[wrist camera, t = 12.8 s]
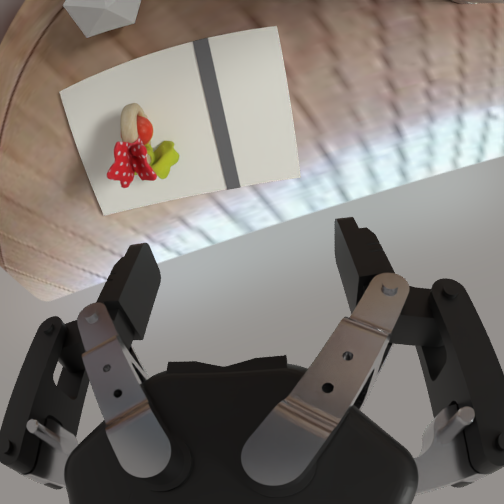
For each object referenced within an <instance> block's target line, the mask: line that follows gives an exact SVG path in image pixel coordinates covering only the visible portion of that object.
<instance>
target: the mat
mask: <svg viewBox="0 0 504 504" xmlns="http://www.w3.org/2000/svg"><path fill="white" fill-rule="evenodd" d="M60 95H61V99H62V102H63V105H64V109H65V112H66V115H67V118H68V122H69V125H70V128H71V131H72V134H73V137H74V140H75V143H76V145H77V148H78V151H79V154H80V157H81V159H82V162H83V165H84V167H85V170H86V173H87V175H88V178H89V180H90V183H91V185H92V188H93V190H94V193H95V195H96V198H97V200H98V203H99V205H100V207H101V210H102V212H103V214H104V216H105V215H109V214H113V213H117V212H121V211H125V210H130V209H134V208H138V207H143V206H147V205H152V204H156V203H161V202H165V201H170V200H175V199H180V198H184V197H189V196H194V195H199V194H205V193H210V192H215V191H221V190H226V189H227V190H228V189H234V188H239V187H243V186H249V185H255V184H261V183H267V182H273V181H280V180H286V179H293V178H300V177H301V176H300V168H299V160H298V152H297V145H296V137H295V130H294V123H293V116H292V110H291V103H290V97H289V91H288V85H287V79H286V73H285V67H284V61H283V56H282V50H281V45H280V40H279V35H278V30H277V26H273V27H265V28H258V29H251V30H245V31H239V32H234V33H229V34H224V35H219V36H214V37H210V38H205V39H200V40H196V41H193V42H189V43H185V44H181V45H178V46H174V47H171V48H167V49H164V50H161V51H158V52H154V53H151V54H148V55H145V56H142V57H139V58H137V59H134V60H131V61H128V62H126V63H123V64H120V65H118V66H115V67H113V68H110V69H108V70H105V71H103V72H100V73H98V74H96V75H93V76H91V77H89V78H87V79H84V80H82V81H80V82H78V83H76V84H74V85H72V86H70V87H68V88H66V89H64V90H62V91H60ZM131 103H137V104H138V105H140V106H141V108H142V109H143V111H144V113H145V115H147V119H148V120H149V121H150V122H151V124H152V126H153V136H152V139H151V147H152V148H153V152H154V151H155V150H156V149H157V148H158V146H159V145H160V144H161V143H162V142H163V141H172V142H173V143H174V149H175V151H176V152H177V153H178V154H179V160H178V162H177V163H176V164H175V165H173V166H171V168H170V172H169V175H168V176H167V178H165V179H160V178H159V177H158V176H157V178H156V180H154V181H149V180H144V181H143V180H141V178H140V177H139V176H138V175H134V179H133V181H132V183H131V184H130V185H129V187H127V188H122V187H121V184H120V181H117V180H110V179H108V178H107V172H108V170H109V168H110V167H111V166H112V164H113V163H114V161H115V158H114V146H115V144H116V142H118V141H120V142H122V139H121V128H120V118H121V112H122V110H123V108H124V107H125V106H126V105H128V104H131Z"/></svg>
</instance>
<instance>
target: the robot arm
mask: <svg viewBox="0 0 504 504" xmlns="http://www.w3.org/2000/svg"><path fill="white" fill-rule="evenodd" d="M451 1H453V2H456V3H459V4H477V3H504V0H451ZM335 258H336V264H337V267H338V270H339V273H340V277H341V280H342V283H343V287H344V290H345V293H346V297H347V300H348V304H349V307H350V311H351V316H350V317H349V318H348V317H344V318H343V319H342V320H341V322H340V323H339V324H338V326H337V328H336V329H335V331H334V332H333V334H332V335H331V337H330V338H329V340H328V341H327V343H326V344H325V346H324V347H323V348H322V350H321V351H320V353H319V354H318V356H317V357H316V359H315V360H314V362H313V363H312V364H311V366H310V367H309V368H308V369H307V368H304V367H301V366H297V365H292V364H287V358H286V355H284V356H274V357H263V358H254V359H251V360H248V361H244V362H241V363H237V364H234V365H230V366H226V367H221V366H216V365H211V364H205V363H201V362H196V361H192V362H168V366H167V371H164V372H161V373H158V374H156V375H154V376H152V377H151V378H149V376H148V374H147V373H146V371H145V369H144V367H143V365H142V363H141V362H140V360H139V358H138V356H137V354H136V352H135V350H134V348H133V347H132V346H131V344H132V341H133V340H143V338H144V334H145V331H146V327H147V324H148V321H149V317H150V314H151V311H152V307H153V304H154V301H155V298H156V295H157V291H158V289H159V286H160V281H161V275H160V270H159V268H158V265H157V263H156V261H155V258H154V256H153V253H152V251H151V249H150V246H149V245H148V244H147V243H141V244H134V245H130V247H129V248H128V250H127V252H126V254H125V256H124V257H122V258H121V259H120V260H119V261H118V262H117V263H116V264H115V265H114V267H113V269H112V271H111V273H110V274H111V275H109V277H108V279H107V282H106V283H105V285H104V287H103V289H102V291H101V293H100V296H99V298H98V300H97V302H96V303H92V304H90V305H88V306H86V307H85V308H84V309H83V310H82V311H81V312H80V313H79V315H78V318H77V320H75V321H72V322H69V323H66V324H64V323H63V322H62V320H61V319H60V318H59V317H57V316H54V317H50V318H48V319H46V320H45V321H44V322H43V323H42V324H41V325H40V327H39V328H38V330H37V333H36V335H35V337H34V339H33V342H32V344H31V346H30V348H29V351H28V353H27V356H26V358H25V361H24V363H23V366H22V368H21V371H20V373H19V376H18V378H17V381H16V384H15V386H14V389H13V392H12V395H11V398H10V401H9V404H8V407H7V410H6V413H5V417H4V420H3V423H2V427H1V430H0V462H1V463H3V464H4V465H6V466H8V467H10V468H12V469H13V470H15V471H17V472H18V473H19V474H21V475H23V476H25V477H27V478H29V479H31V480H33V481H35V482H37V483H40V484H44V485H46V486H48V487H51V488H53V489H61V488H63V487H64V488H66V489H67V492H68V497H69V503H70V504H411V503H412V501H413V499H414V496H416V495H419V494H423V493H427V492H430V491H434V490H437V489H440V488H444V487H447V486H450V485H451V486H453V487H464V486H466V485H468V484H471V483H473V482H475V481H477V480H479V479H481V478H483V477H485V476H487V475H489V474H491V473H493V472H495V471H497V470H499V469H501V468H502V467H504V374H503V371H502V369H501V366H500V364H499V361H498V359H497V356H496V354H495V351H494V349H493V346H492V344H491V342H490V339H489V337H488V335H487V333H486V330H485V328H484V326H483V324H482V322H481V320H480V318H479V315H478V313H477V312H476V309H475V307H474V306H473V303H472V301H471V299H470V297H469V295H468V293H467V292H466V290H465V288H464V287H463V286H462V285H461V284H460V283H458V282H457V281H455V280H452V279H440V280H437V281H436V282H435V283H434V284H433V286H432V289H424V288H415V287H411V286H409V284H408V282H407V281H406V280H405V279H404V278H403V277H401V276H399V275H397V274H395V272H394V270H393V268H392V266H391V264H390V262H389V260H388V258H387V256H386V254H385V252H384V251H383V248H382V246H381V245H380V244H379V241H378V239H377V237H376V235H375V234H374V233H373V232H371V231H370V230H369V229H368V228H358V226H357V224H356V222H355V220H354V218H353V217H348V218H339V219H335ZM394 343H395V344H404V345H415V346H416V349H417V352H418V356H419V359H420V363H421V367H422V370H423V374H424V377H425V382H426V386H427V389H428V394H429V398H430V402H431V407H432V411H433V416H434V420H433V421H432V422H431V423H430V424H429V425H428V426H427V428H426V429H425V431H424V433H423V438H422V450H421V453H420V455H419V457H417V458H413V457H412V455H411V454H410V452H409V451H408V450H407V449H406V448H405V447H404V446H402V445H401V444H400V443H399V442H397V441H396V440H395V439H394V438H392V437H391V436H390V435H389V434H388V433H386V432H385V431H384V430H383V429H382V428H380V427H379V426H378V425H377V424H376V423H374V422H373V421H372V420H371V419H369V418H368V417H367V416H366V415H365V414H363V413H362V412H361V411H360V410H361V409H362V407H363V405H364V403H365V401H366V400H367V398H368V396H369V394H370V392H371V390H372V387H373V385H374V383H375V381H376V379H377V377H378V375H379V373H380V371H381V369H382V367H383V365H384V363H385V361H386V359H387V357H388V355H389V353H390V351H391V348H392V346H393V344H394ZM58 361H59V362H60V364H62V366H63V368H62V372H61V374H60V378H59V381H58V384H57V386H56V385H55V383H54V380H53V373H54V370H55V367H56V364H57V362H58ZM89 381H90V383H91V386H92V389H93V392H94V394H95V397H96V400H97V402H98V405H99V408H100V410H101V413H102V415H103V417H104V421H103V422H102V423H101V424H100V425H99V426H98V427H96V428H95V429H94V430H93V431H92V432H91V433H90V434H89V435H88V436H87V437H86V438H85V439H84V440H83V441H82V442H81V443H80V444H79V445H78V442H77V439H76V435H77V430H78V426H79V421H80V417H81V413H82V408H83V404H84V400H85V396H86V392H87V388H88V385H89Z"/></svg>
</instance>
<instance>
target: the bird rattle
mask: <svg viewBox="0 0 504 504" xmlns="http://www.w3.org/2000/svg"><path fill="white" fill-rule="evenodd" d="M120 128H121V139H122V142H120V141H118V142H116V144H115V146H114V158H115V161H114V163H113V164H112V166H111V167H110V168H109V170H108V172H107V178H108V179H110V180H117V181H120V184H121V187H122V188H127V187H129V185H130V184H131V183H132V181H133V179H134V175H138V176H139V177H140V178H141V180H143V181H144V180H149V181H154V180H156V178H157V176H158V177H159V178H160V179H165V178H167V176H168V175H169V172H170V168H171V166H173V165H175V164H176V163H177V162H178V160H179V154H178V153H177V152H176V151H175V149H174V143H173V142H172V141H163V142H162V143H161V144H160V145H159V146H158V148H157V149H156V150H155V151H154V152H153V148H152V147H151V139H152V136H153V126H152V124H151V122H150V121H149V120H148V119H147V115H145V113H144V111H143V109H142V108H141V106H140V105H138V104H137V103H131V104H128V105H126V106H125V107H124V108H123V110H122V112H121V118H120Z"/></svg>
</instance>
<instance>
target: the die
mask: <svg viewBox="0 0 504 504" xmlns="http://www.w3.org/2000/svg"><path fill="white" fill-rule="evenodd" d="M140 3H141V0H65V2H64V4H63V6H64V8H65V9H66V10H67V12H68V13H69V14H70V16H71V17H72V19H73V20H74V21H75V23H76V24H77V25H78V27H79V28H80V29H81V31H82V32H83V33H84V35H85V36H86V37H87V38H88V37H91V36H94V35H97V34H100V33H103V32H106V31H109V30H113V29H116V28H120V27H123V26H127V25H130V24H134V23H135V20H136V17H137V13H138V10H139V6H140Z"/></svg>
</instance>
